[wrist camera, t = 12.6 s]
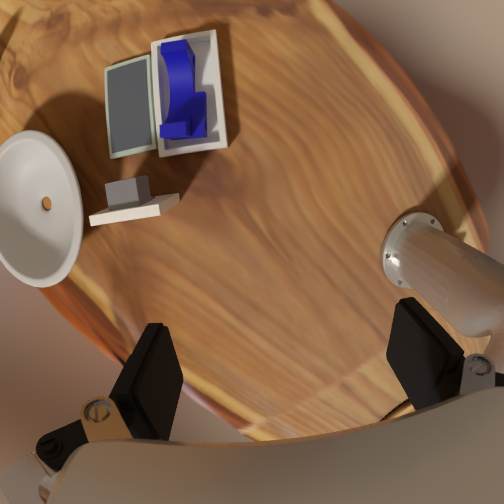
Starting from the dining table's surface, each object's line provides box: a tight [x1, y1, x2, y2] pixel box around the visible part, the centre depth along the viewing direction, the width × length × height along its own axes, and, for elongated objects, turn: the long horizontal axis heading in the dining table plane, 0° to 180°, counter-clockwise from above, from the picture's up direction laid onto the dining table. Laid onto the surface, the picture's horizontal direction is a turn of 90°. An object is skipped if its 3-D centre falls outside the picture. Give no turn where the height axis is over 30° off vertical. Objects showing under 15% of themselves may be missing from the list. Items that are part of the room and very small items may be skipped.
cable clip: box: [159, 39, 207, 140], centre depth 29 cm, size 12×4×6 cm, turn 1°
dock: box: [151, 29, 229, 157], centre depth 31 cm, size 9×17×2 cm, turn 6°
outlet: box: [89, 175, 180, 226], centre depth 32 cm, size 9×4×9 cm, turn 96°
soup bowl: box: [0, 130, 84, 287], centre depth 33 cm, size 24×24×7 cm
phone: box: [105, 54, 158, 159], centre depth 31 cm, size 7×14×1 cm, turn 6°
